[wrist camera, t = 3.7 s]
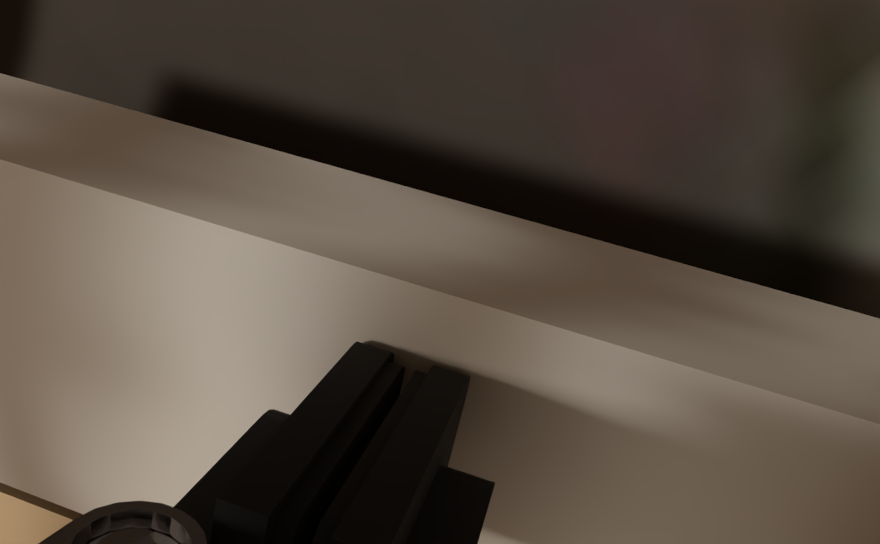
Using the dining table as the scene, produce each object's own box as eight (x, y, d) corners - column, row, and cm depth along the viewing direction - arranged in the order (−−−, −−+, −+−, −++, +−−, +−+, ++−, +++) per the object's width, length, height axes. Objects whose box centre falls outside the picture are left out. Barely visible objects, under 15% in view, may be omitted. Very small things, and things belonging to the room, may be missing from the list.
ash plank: (1411, 466, 9) (1546, 625, 7) (979, 748, 15) (1006, 870, 13) (-124, 38, 13) (-242, 86, 11) (9, 396, 18) (-58, 460, 17)
